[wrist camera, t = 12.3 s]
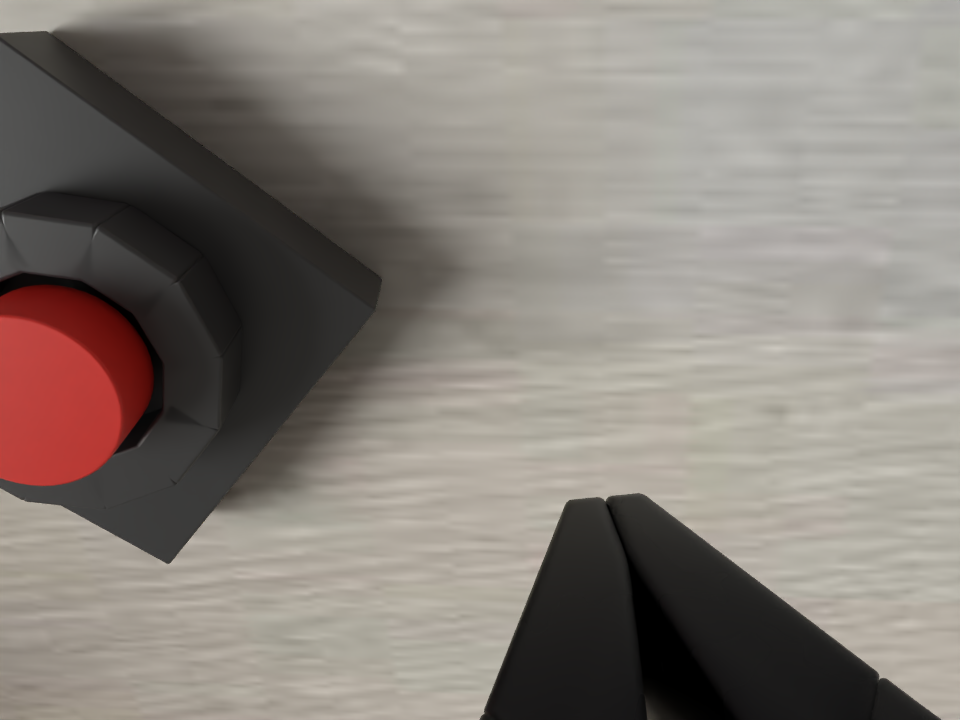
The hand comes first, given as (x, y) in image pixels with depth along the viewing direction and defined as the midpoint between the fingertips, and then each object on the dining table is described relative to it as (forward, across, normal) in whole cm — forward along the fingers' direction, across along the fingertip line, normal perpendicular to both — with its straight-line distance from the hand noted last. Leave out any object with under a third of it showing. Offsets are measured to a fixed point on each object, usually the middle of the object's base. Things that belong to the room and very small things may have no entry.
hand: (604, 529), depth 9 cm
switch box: (+11, +10, 0) cm, 15 cm away
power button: (+8, +10, +1) cm, 13 cm away
